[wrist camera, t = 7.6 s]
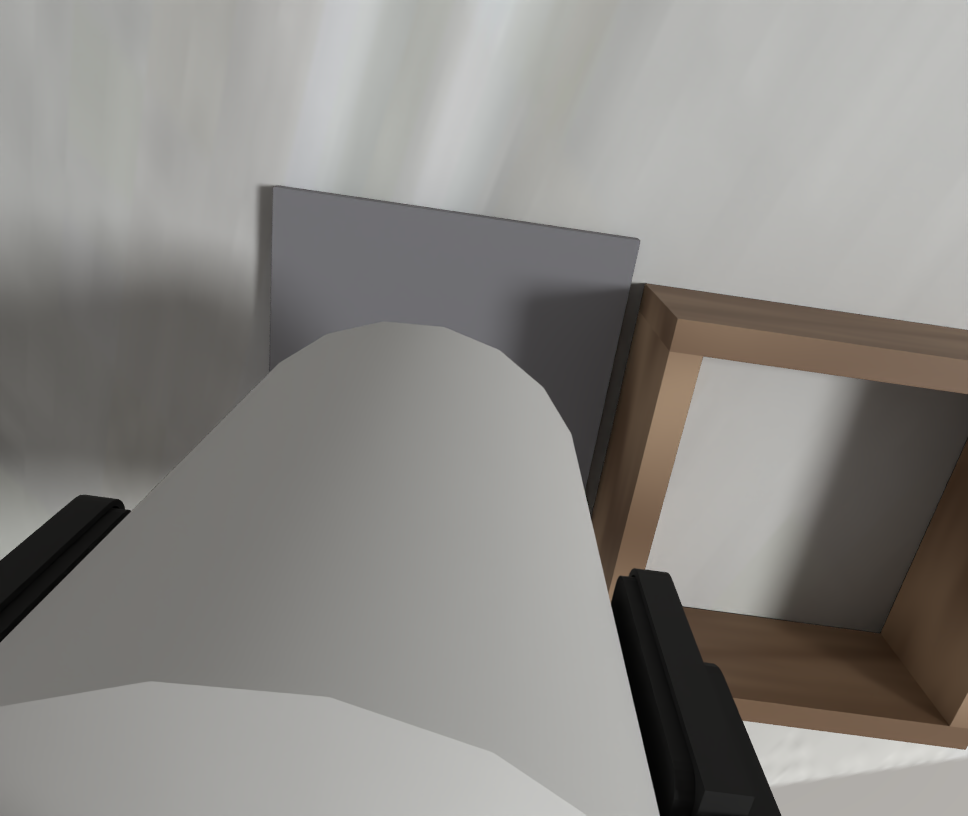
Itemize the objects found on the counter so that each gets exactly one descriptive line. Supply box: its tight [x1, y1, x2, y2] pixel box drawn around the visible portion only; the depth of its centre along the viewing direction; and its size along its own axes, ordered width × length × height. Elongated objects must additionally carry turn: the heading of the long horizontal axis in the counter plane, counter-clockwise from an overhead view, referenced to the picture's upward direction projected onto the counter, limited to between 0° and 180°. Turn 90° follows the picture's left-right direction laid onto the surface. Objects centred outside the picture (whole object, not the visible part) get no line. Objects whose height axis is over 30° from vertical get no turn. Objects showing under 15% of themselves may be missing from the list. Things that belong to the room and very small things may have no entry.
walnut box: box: [591, 283, 968, 750], centre depth 20 cm, size 12×12×4 cm
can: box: [0, 321, 660, 816], centre depth 10 cm, size 8×8×12 cm
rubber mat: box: [269, 186, 640, 491], centre depth 20 cm, size 10×10×1 cm
